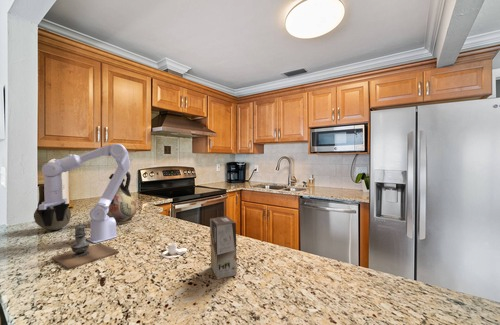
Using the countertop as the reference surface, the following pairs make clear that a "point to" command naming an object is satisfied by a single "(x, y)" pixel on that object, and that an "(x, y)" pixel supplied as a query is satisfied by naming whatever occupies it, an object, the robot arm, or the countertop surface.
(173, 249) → the teacup and saucer
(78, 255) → the dark grey turned piece
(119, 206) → the ceramic jug
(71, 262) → the walnut board
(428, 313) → the countertop surface
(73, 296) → the countertop surface
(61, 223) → the grey rounded lump
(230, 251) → the coffee box
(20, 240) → the countertop surface
